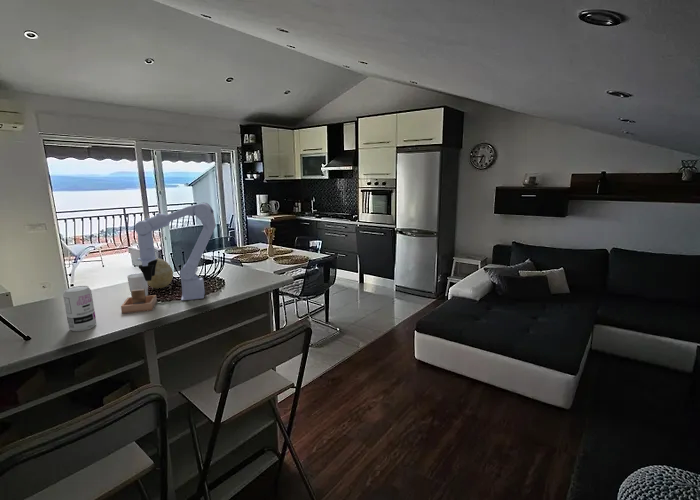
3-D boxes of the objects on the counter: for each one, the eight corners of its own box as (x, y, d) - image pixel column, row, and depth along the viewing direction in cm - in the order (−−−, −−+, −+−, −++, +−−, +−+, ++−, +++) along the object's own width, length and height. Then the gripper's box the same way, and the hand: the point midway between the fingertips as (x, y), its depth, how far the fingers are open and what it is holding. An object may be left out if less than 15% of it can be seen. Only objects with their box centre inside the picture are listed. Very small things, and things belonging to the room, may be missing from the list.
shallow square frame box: (156, 301, 159) (156, 294, 158) (152, 310, 148) (151, 303, 148) (128, 304, 155) (127, 297, 154) (121, 313, 145) (120, 306, 144)
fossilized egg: (155, 293, 169) (151, 263, 166) (140, 289, 176) (136, 259, 172) (179, 286, 180) (176, 257, 177) (164, 282, 186) (161, 254, 183)
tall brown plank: (146, 304, 153) (144, 288, 152) (145, 305, 151) (143, 290, 150) (134, 305, 152) (132, 289, 150) (133, 307, 150) (131, 291, 149)
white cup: (140, 299, 162) (138, 278, 160) (125, 298, 163) (122, 277, 161) (153, 293, 169) (150, 273, 167) (139, 292, 171) (136, 272, 169)
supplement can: (78, 323, 136) (72, 285, 133) (101, 322, 136) (95, 285, 133) (63, 332, 128) (56, 292, 125) (88, 331, 128) (81, 292, 125)
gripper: (139, 245, 161) (143, 274, 164) (132, 252, 147) (136, 283, 150) (157, 244, 163) (160, 273, 166) (151, 251, 150) (154, 282, 152)
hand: (150, 278), depth 158 cm, fingers open, 7 cm apart
